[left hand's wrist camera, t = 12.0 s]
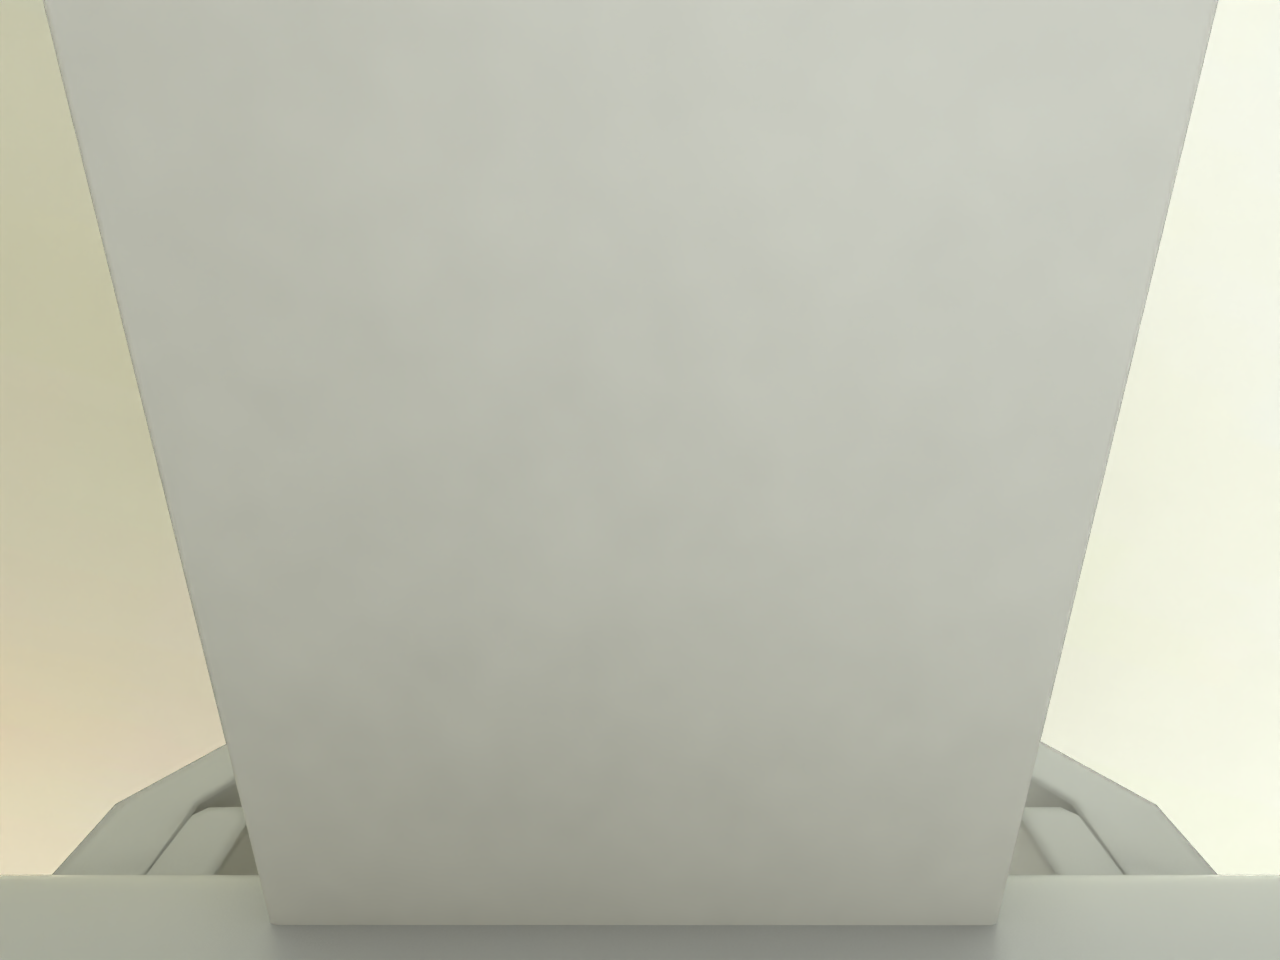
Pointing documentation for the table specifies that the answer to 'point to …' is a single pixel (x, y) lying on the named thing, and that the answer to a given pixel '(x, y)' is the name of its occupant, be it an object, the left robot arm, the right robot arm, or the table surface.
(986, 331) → the bar
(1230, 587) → the table surface
